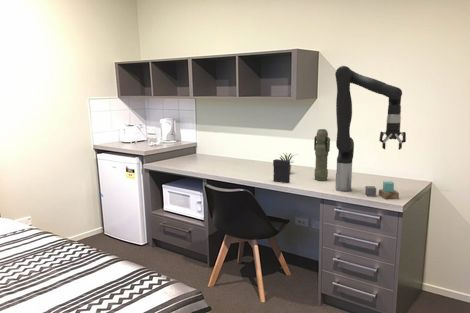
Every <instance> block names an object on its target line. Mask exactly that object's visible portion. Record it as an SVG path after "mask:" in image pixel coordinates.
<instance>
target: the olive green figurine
mask: <svg viewBox="0 0 470 313" xmlns="http://www.w3.org/2000/svg"><path fill="white" fill-rule="evenodd" d="M313 141H314V142H313V146H314V147H313V151H314V155H315V168H314V181H316V180H317V182H326V181H328V176H329V175H328V174H329V170H328V157H329V152H330V151H331V150H330V149H331V146H330V145H331V138H330V137H329V133H328V130H327V129H325V128H320V129H317V131H316V135H315V136H314V140H313Z"/></svg>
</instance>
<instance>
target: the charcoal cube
mask: <svg viewBox="0 0 470 313" xmlns="http://www.w3.org/2000/svg"><path fill="white" fill-rule="evenodd" d="M364 193H365V194H364V195H365V196H366V197H377V187H376V186H375V185H374V186H373V185H365V192H364Z"/></svg>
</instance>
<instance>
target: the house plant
mask: <svg viewBox="0 0 470 313" xmlns="http://www.w3.org/2000/svg"><path fill="white" fill-rule="evenodd" d="M285 153H286V154H285ZM285 153H284V152H283V153H282V154H283V155H281V154H279V153H278V154H279V160H288V161H290V172H291V170H292V165H291V164H293V163H295V161H293V160H292V158H293V157H294V156H297V155H298V153H297V154H294V155H293V154H292V153H291V152H290V153H289V154H288V153H287V152H285ZM298 156H299V155H298Z"/></svg>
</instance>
